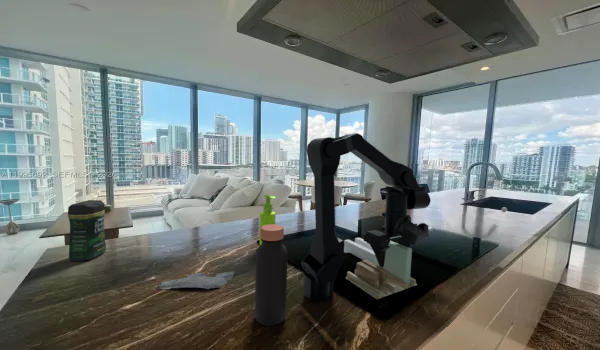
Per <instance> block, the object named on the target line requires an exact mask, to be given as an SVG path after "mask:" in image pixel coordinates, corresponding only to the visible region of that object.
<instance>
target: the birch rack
mask: <svg viewBox="0 0 600 350" xmlns="http://www.w3.org/2000/svg"><path fill="white" fill-rule="evenodd" d="M345 278H346V280H348V281H350V282H351V283H352V284H354V285H355V286H356V287H358V288H360V289H361V290H363V291H364V292H366V293H367V294H368V295H370V296H371V297H373V298H374V299H376V300H379V299H381V298H384V297H387V296H390V295H393V294H395V293H398V292H402V291H403V290H406V289H409V288H412V287H415V286H417V285H418V284H417V281H416V279H415V278H413V277H412V276H410V285H407V284H408V283H407V282H405V281H403V280H401V279H399V278H398V277H396V276H394V275H392V274H390V273H388V279H387V288H385V287H384V286H382V285H380V284H379V290H378V289H376V288H375V287H373V286H372V285H370V284H368V283H367V282H365V281H364V280H362V279H361V278H359V277H357V276H356V269H354V273H353V272H351V271H347V272H346V277H345Z"/></svg>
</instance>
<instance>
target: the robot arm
mask: <svg viewBox="0 0 600 350" xmlns="http://www.w3.org/2000/svg"><path fill="white" fill-rule="evenodd" d="M349 153H351V154H352V155H354V156H355V157H357V158H358V159H360V160H361V161H363V162H364V163H365V164H367V166H368V167H371V168H372V169H373V170H375V171H376V172H377V173H378V176H379V178H380V180H382V181H383V183H385V185H386V186H385V188H384V189H382V190H381V191H380V192H379V194H380V195H383V196H385V212H381V216H382V217H384V225H381V227H380V228H381V229H380V230H381V231H380V230H377V229H373V230H367V231H365V232H364V234H363V240H364V241H365V242H367V243H368V244H370V246H371V248H372V249H373V251H374V254H375V256H376V258H377V261H378V263H379V266H380V267H384V262H385V254H386V250H387V249H388V248H390V246H388V245H389V243H390V241H391V240H392V239H398V244H400V245H403V246H405V247H408V248H411V249H412V248H413V246H416V245H418V244H423V243H424V240H425V238H429V235H430V234H429V233H430V231H429V229H430V228H429V227H430V226H429V225H428V224H427V223H425V222H422V223H413V222H412V217H411V215H409V214H408V210H419V209H420V210H422V209H426V208H428V207H429V206H430V204H431V202H432V201H431V197H430V195H429V193H428V191H426V186H424V185H419V183H418V181H417V179H416V177H415V174H414V171H413V169H412V167H409V166H407V165H405V164H403V163H401V162H397V161H394V160H392V159H390V158H389V157H388V156H386V155H385V154H384V153H383V152H382V151H381V150H379V149H377V148H376V147H375V146H374V145H373V144H371V142H369V141H368V140H366V139H365V138H364V136H363V135H362V134H360V133H358V132H356V133H346V134H344V135H341V136H338V137H331V136H328V137H319V138H314V139H312V140H310V142H309V143H308V144H307V145H306V154H307V155H306V156H307V160H308V164H309V167H310V170H311V172H312V173H313V178H314V179H313V180H314V182H313V183H314V214H315V215H314V216H315V233H314V234H313V235H314V236H313V238H312V239H311V243H310V249H309V252H308V253H307V254H306V256H305V257H304V258H303V259H302V260H301V261H300V263H301V267H302V270H304V271H305V272H306V273H304V275H303V276H304V279H303V296H304V298H306V299H307V300H308V301H309V302H311V303H312V302H314V303H315V302H316V303H321V302H325V301H327V300H329V298H330V297H331V296H332V295H333V294H334V282H336V280H337V277H338V274H339V271H340V268H341V267H342V265H343V263H344V258H346V255H345V252H344V239H341V238H340V237H337V234H336V204H335V203H336V200H335V199H336V198H335V195H336V194H335V174H336V172H337V170H338V168H339V167H340V163H341V156H343V155H347V154H349ZM382 231H383V232H382Z"/></svg>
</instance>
